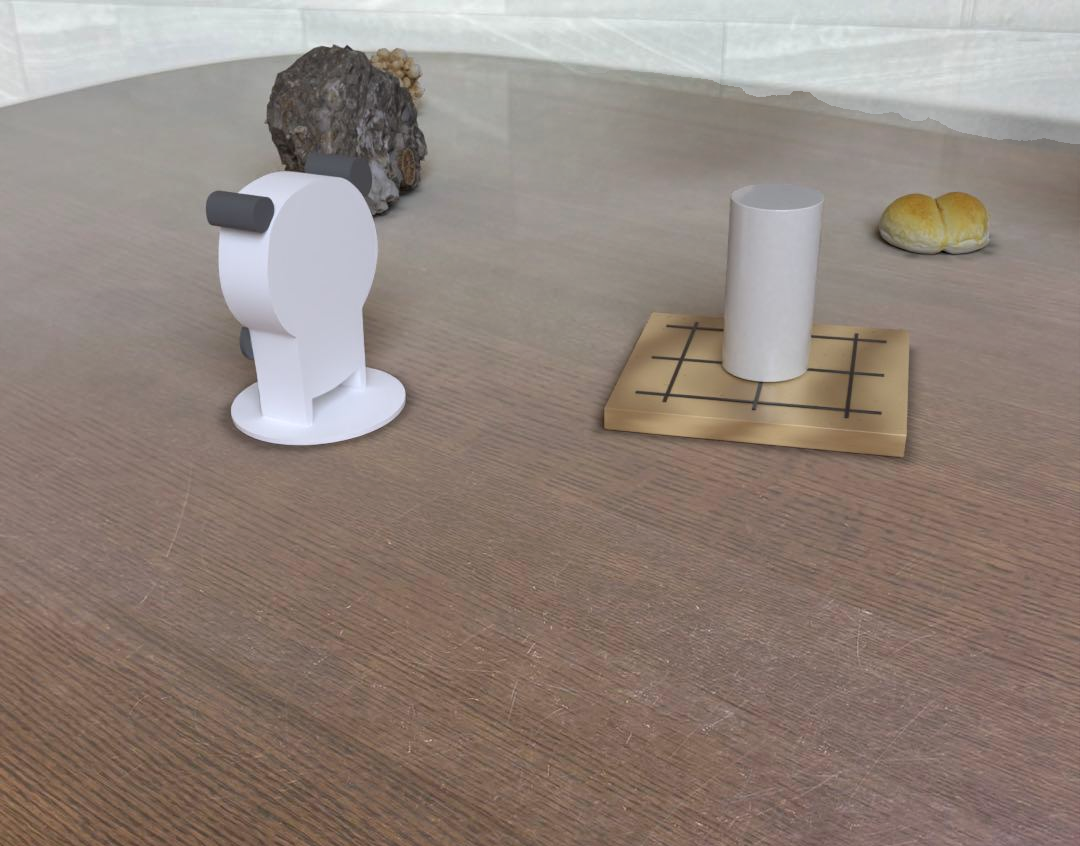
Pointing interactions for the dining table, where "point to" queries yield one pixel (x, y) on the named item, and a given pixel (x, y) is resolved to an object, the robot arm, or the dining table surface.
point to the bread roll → (936, 223)
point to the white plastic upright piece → (304, 302)
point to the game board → (766, 389)
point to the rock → (348, 119)
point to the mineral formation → (401, 70)
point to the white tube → (771, 280)
